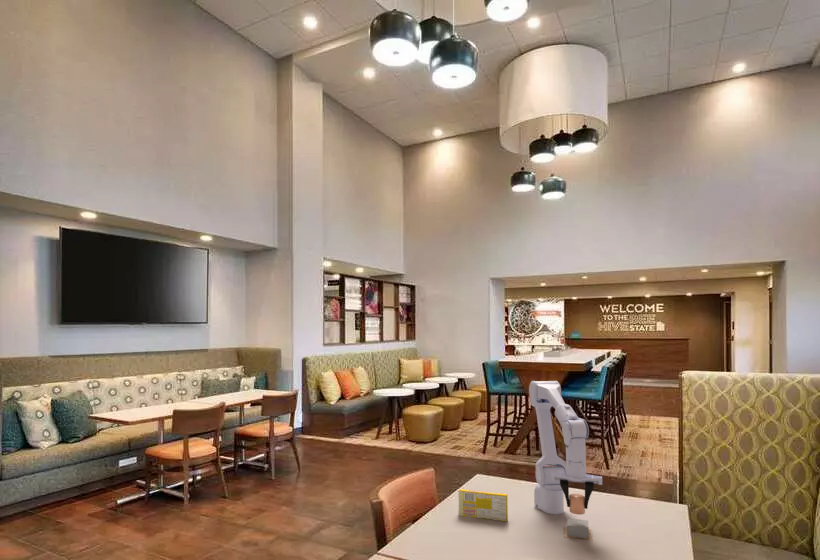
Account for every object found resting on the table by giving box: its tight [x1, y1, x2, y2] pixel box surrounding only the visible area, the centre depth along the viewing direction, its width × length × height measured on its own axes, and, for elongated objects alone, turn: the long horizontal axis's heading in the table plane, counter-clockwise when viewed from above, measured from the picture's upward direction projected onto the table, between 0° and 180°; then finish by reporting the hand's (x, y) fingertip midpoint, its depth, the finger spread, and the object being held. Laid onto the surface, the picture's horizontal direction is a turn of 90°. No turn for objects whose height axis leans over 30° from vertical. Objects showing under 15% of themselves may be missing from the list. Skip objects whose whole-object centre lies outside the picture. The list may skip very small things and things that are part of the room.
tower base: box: [563, 526, 594, 541], centre depth 149 cm, size 8×8×2 cm
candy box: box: [458, 488, 509, 522], centre depth 165 cm, size 16×2×8 cm, turn 71°
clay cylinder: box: [569, 493, 586, 516], centre depth 149 cm, size 4×4×4 cm
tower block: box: [566, 517, 590, 539], centre depth 149 cm, size 6×6×3 cm
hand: (577, 506), depth 149 cm, fingers closed on clay cylinder, 4 cm apart
